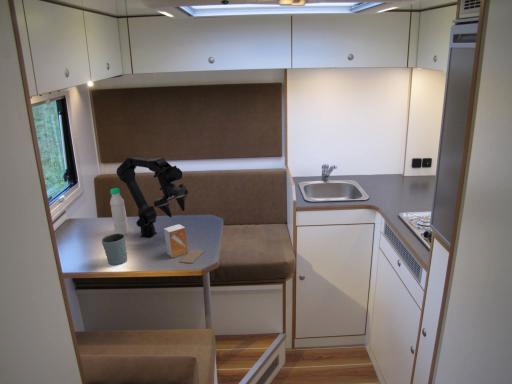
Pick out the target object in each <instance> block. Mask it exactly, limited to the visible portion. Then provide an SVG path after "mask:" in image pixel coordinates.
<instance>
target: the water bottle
mask: <svg viewBox="0 0 512 384" xmlns="http://www.w3.org/2000/svg"><path fill="white" fill-rule="evenodd" d="M109 193H110V195H111V198H110V200H109V201H110V202H109V205H110V209H111V215H112V221H113V227H114V234H116V233H121V234H124V235H125V236H126V235H128V234H129V232H130V228H129V224H128V220H127V213H126V206H125V200H124V199H123V198H122V195H121V189H120V188H118V187H114V188H111V189H110V191H109Z"/></svg>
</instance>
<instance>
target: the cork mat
mask: <svg viewBox="0 0 512 384" xmlns="http://www.w3.org/2000/svg"><path fill="white" fill-rule="evenodd" d="M203 253H205V250H202V249H190V250H189V251H188V253H186V254H184V256H183V257H182V258H180V260H179V261H178V263H181V264H182V263H183V264H190V265H191V264H194V263H195V262H196V261H197V260H198V259H199V257H200V256H201V255H203Z"/></svg>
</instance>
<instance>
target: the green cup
mask: <svg viewBox="0 0 512 384" xmlns="http://www.w3.org/2000/svg"><path fill="white" fill-rule="evenodd" d="M101 244H102V246H103V250H104V253H105V256H106V259H107V260H106V261H107V263H108V265H109V266H112V267H114V266H115V267H116V266H121V265H123V264H125V263H127V262H128V253H127V243H126V235H124V234H121V233H116V234H115V233H112V234H108V235H106V236H104V237H102V238H101Z"/></svg>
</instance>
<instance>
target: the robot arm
mask: <svg viewBox="0 0 512 384" xmlns="http://www.w3.org/2000/svg"><path fill="white" fill-rule="evenodd" d="M137 167H141V168H145V169H148V170H149V171H151V172H154V175H153V178H154V179H155V178H156V179H157V181H158V183H159V187H160V188H159V191H162V194H163V196H162V198H161V197H160V198H159V199H156V200H154V201H153V205H150V204H148V202H147V200H146V199H145V196H144V194H143V193H142V191H141V188H140V187H139V184H138V182H137V180H136V172H135V170H136V169H137ZM182 171H183V170H181V169H180V168H179V167H177V165H173V166H172V164H170V162H168V161H166V159H165V158H164V157H157V158H146V157H138V156H135V155H133V156H129V157H127V158H126V159H125V160H124V161H123V162H122V163H121V164H120V165H119V166H118V167H117V168H116V174H117V176H118V179H120V181H122V182H123V183H125V184H126V187H127V188H128V190H129V192H130V195H131V196H132V198H133V200H134V203H135V204H136V206H137V208H138V213H137V215H138V219H137V220H136V226H137V227H139V228H140V233H141V235H139V237H140V238H148V239H150V238H152V237H154V236H155V235H156V234H157V231H156V227H155V225H154V223H156V222H157V217H158V214H157V211H156V210H155V208H158V209H160V210H161V211H162V212H163V213H164V214H166V215H167V216H168V217H169V218H172V217H173V215H172V212H171V210H170V207H169V205H170V203H169V202H168V201H171V200H173V199H175V200H176V202H177V204H178V206H179V208H180V209H181V211H182V212H184V211H186V209H185V202H186V201H185V200H186V197H187V196H188V194H189V192H188V189H187V187H186V185H185V183H181V184H179V185H177V186H176V184H175V183H173V182H176V181H179V180H182V178H183V172H182Z"/></svg>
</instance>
